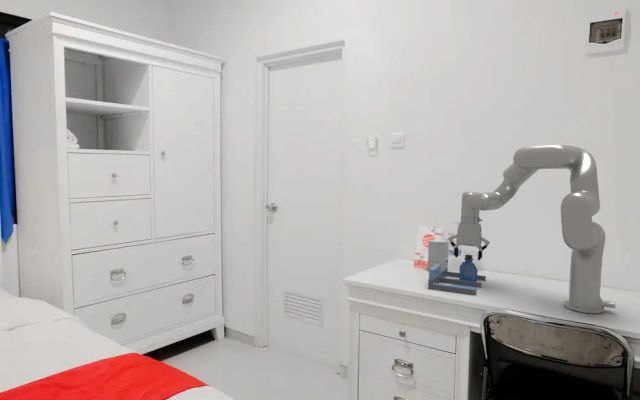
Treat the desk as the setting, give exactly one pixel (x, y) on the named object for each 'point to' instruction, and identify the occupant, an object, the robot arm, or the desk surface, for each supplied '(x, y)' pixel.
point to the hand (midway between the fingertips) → (467, 258)
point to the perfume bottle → (468, 270)
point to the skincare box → (438, 253)
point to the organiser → (451, 281)
